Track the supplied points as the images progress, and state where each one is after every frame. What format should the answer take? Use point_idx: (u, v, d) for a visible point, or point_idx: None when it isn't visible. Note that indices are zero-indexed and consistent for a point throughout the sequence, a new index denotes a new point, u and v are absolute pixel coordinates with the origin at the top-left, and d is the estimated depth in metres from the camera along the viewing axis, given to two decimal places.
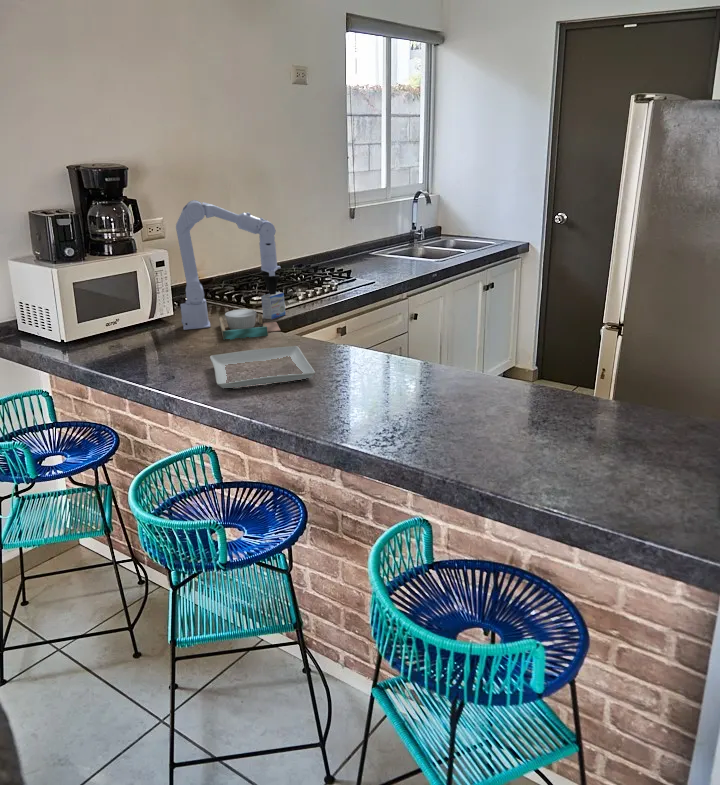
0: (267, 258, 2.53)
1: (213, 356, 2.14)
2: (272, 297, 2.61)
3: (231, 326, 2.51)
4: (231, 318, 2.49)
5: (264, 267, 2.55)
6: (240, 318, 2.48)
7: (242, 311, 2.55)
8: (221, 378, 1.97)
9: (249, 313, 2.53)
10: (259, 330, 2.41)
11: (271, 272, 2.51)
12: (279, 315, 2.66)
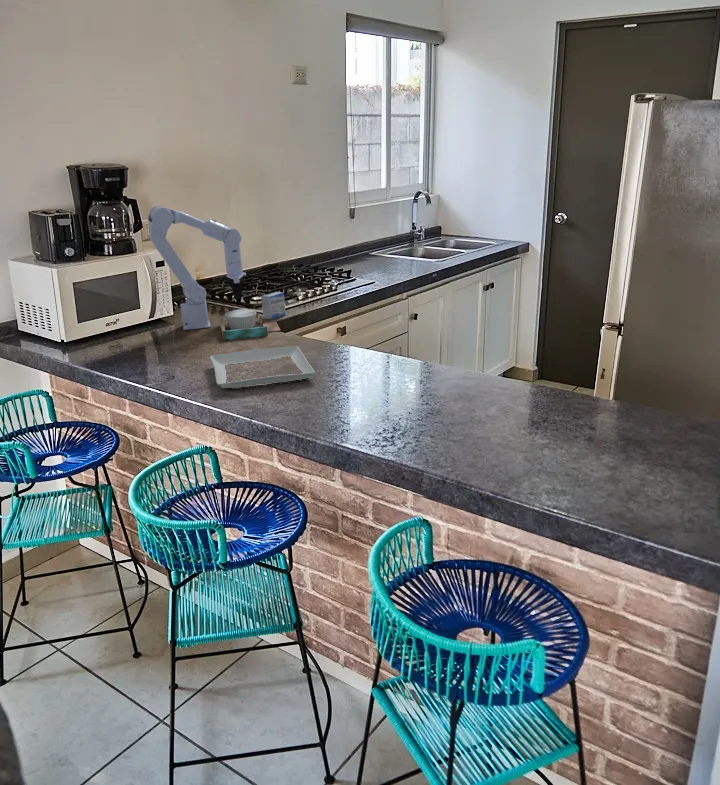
0: (232, 265, 2.54)
1: (213, 356, 2.14)
2: (272, 297, 2.61)
3: (231, 326, 2.51)
4: (231, 318, 2.49)
5: (229, 274, 2.56)
6: (240, 318, 2.48)
7: (242, 311, 2.55)
8: (221, 378, 1.97)
9: (249, 313, 2.53)
10: (259, 330, 2.41)
11: (236, 279, 2.52)
12: (279, 315, 2.66)
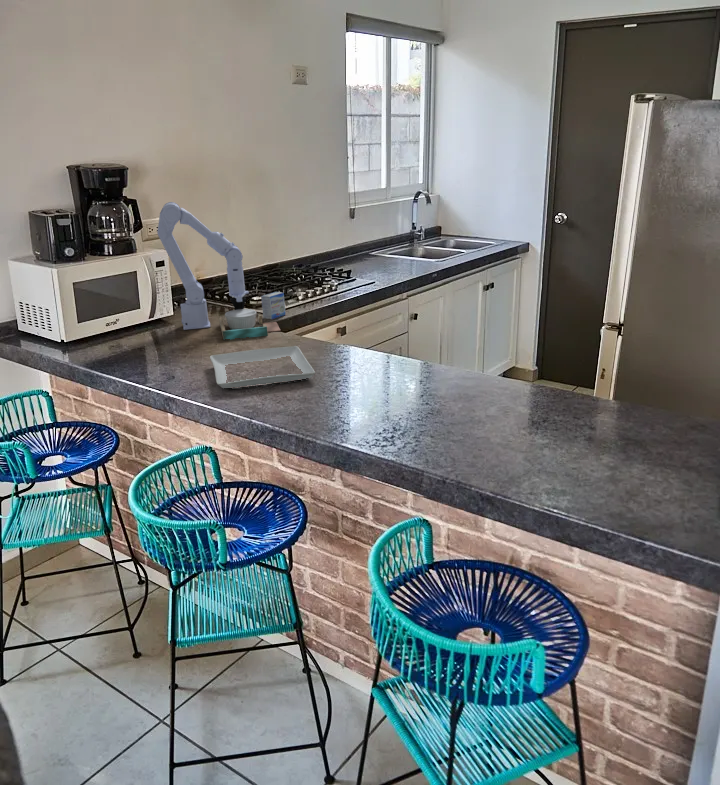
0: (234, 284, 2.53)
1: (213, 356, 2.14)
2: (272, 297, 2.61)
3: (231, 326, 2.51)
4: (231, 318, 2.49)
5: (232, 292, 2.55)
6: (240, 318, 2.48)
7: (242, 311, 2.55)
8: (221, 378, 1.97)
9: (249, 313, 2.53)
10: (259, 330, 2.41)
11: (238, 298, 2.51)
12: (279, 315, 2.66)
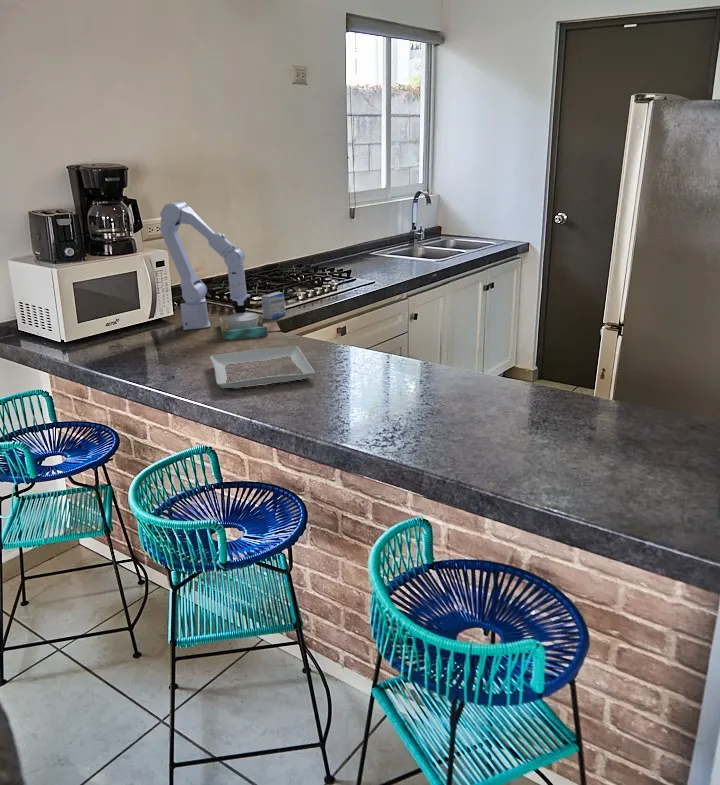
0: (236, 287, 2.48)
1: (213, 356, 2.14)
2: (272, 297, 2.61)
3: None
4: (233, 322, 2.43)
5: (233, 296, 2.50)
6: (242, 322, 2.43)
7: (244, 314, 2.49)
8: (221, 378, 1.97)
9: (251, 316, 2.48)
10: (259, 330, 2.41)
11: (240, 301, 2.46)
12: (279, 315, 2.66)
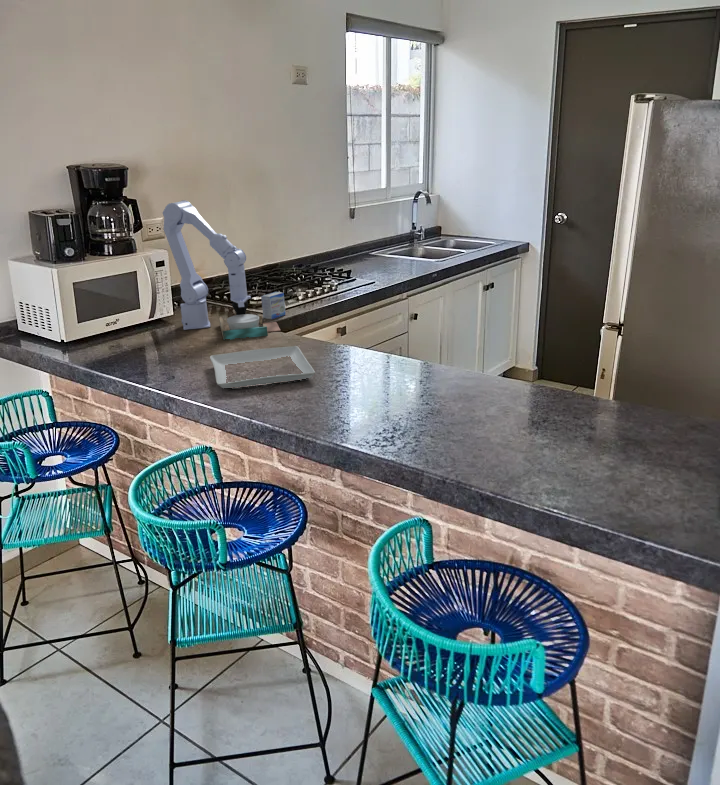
0: (236, 288, 2.46)
1: (213, 356, 2.14)
2: (272, 297, 2.61)
3: None
4: (234, 324, 2.41)
5: (233, 297, 2.47)
6: (243, 324, 2.40)
7: (244, 316, 2.47)
8: (221, 378, 1.97)
9: (252, 318, 2.45)
10: (259, 330, 2.41)
11: (240, 303, 2.43)
12: (279, 315, 2.66)
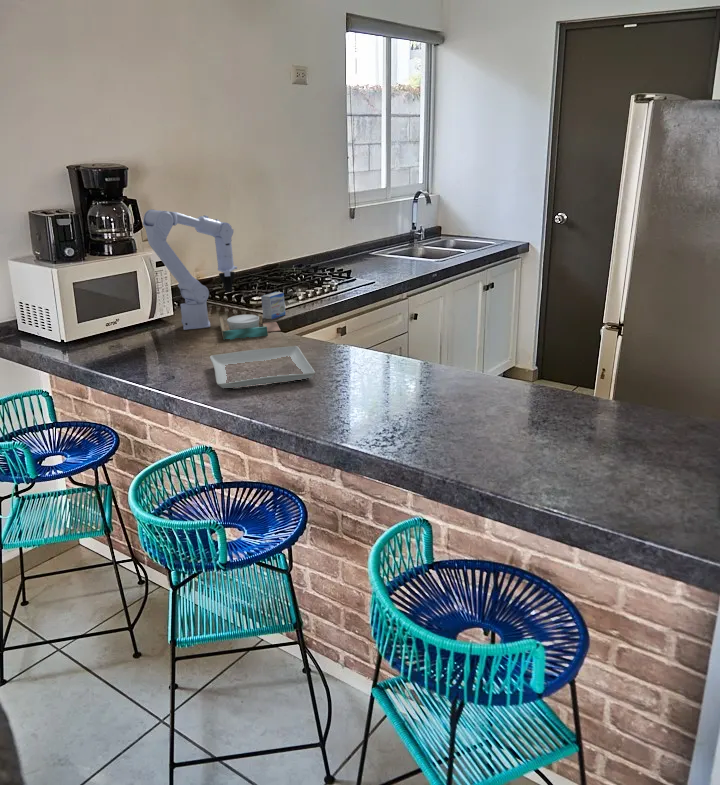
0: (223, 258, 2.56)
1: (213, 356, 2.14)
2: (272, 297, 2.61)
3: None
4: (234, 324, 2.41)
5: (220, 267, 2.58)
6: (243, 324, 2.40)
7: (244, 317, 2.47)
8: (221, 378, 1.97)
9: (252, 319, 2.45)
10: (259, 330, 2.41)
11: (226, 272, 2.54)
12: (279, 315, 2.66)
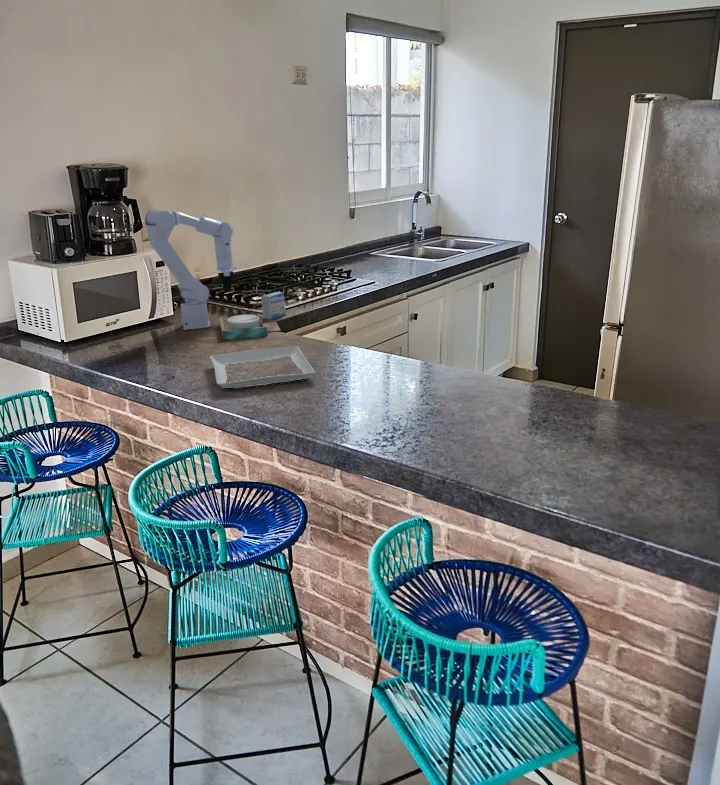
0: (222, 258, 2.57)
1: (213, 356, 2.14)
2: (272, 297, 2.61)
3: None
4: (234, 324, 2.41)
5: (219, 267, 2.59)
6: (243, 324, 2.40)
7: (244, 317, 2.47)
8: (221, 378, 1.97)
9: (252, 319, 2.45)
10: (259, 330, 2.41)
11: (226, 272, 2.55)
12: (279, 315, 2.66)
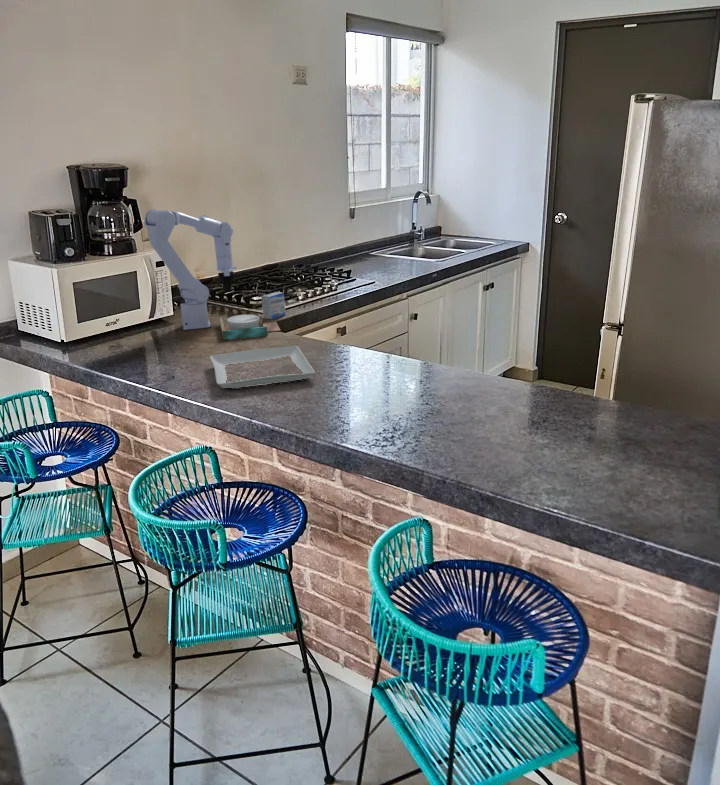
0: (222, 258, 2.57)
1: (213, 356, 2.14)
2: (272, 297, 2.61)
3: None
4: (234, 324, 2.41)
5: (219, 267, 2.59)
6: (243, 324, 2.40)
7: (244, 317, 2.47)
8: (221, 378, 1.97)
9: (252, 319, 2.45)
10: (259, 330, 2.41)
11: (226, 272, 2.55)
12: (279, 315, 2.66)
